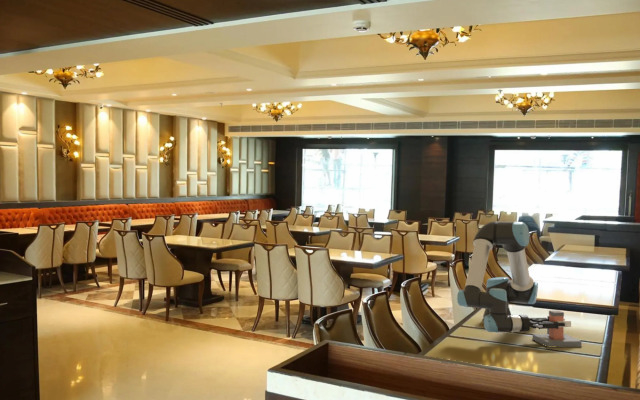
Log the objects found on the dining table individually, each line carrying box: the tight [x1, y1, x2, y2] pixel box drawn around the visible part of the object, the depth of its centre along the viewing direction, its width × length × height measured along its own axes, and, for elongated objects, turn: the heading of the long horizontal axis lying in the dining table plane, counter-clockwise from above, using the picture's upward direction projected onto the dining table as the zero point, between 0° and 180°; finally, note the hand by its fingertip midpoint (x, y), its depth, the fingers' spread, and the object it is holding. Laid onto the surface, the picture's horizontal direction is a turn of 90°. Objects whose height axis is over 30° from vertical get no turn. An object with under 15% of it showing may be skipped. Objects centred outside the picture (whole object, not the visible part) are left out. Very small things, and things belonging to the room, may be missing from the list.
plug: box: [548, 310, 565, 339], centre depth 255 cm, size 5×5×12 cm
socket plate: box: [532, 333, 583, 348], centre depth 256 cm, size 14×16×2 cm
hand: (567, 322), depth 256 cm, fingers closed on plug, 4 cm apart
